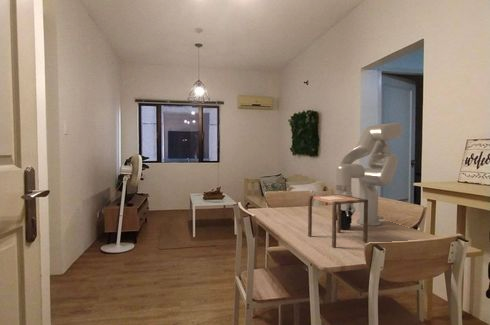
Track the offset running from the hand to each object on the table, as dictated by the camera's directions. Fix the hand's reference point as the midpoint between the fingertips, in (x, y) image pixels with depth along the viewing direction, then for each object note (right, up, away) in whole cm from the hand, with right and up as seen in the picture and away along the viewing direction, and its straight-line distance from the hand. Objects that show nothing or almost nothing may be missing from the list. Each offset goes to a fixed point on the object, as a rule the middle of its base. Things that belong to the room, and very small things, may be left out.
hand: (343, 221), depth 157 cm
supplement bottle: (0, -3, 0) cm, 3 cm away
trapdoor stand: (-10, -5, -19) cm, 22 cm away
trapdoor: (-10, +14, -19) cm, 26 cm away
